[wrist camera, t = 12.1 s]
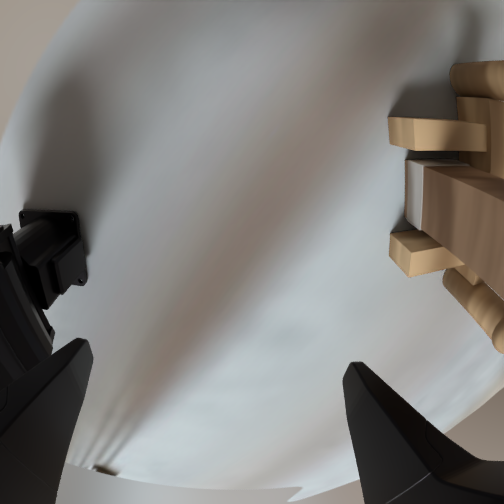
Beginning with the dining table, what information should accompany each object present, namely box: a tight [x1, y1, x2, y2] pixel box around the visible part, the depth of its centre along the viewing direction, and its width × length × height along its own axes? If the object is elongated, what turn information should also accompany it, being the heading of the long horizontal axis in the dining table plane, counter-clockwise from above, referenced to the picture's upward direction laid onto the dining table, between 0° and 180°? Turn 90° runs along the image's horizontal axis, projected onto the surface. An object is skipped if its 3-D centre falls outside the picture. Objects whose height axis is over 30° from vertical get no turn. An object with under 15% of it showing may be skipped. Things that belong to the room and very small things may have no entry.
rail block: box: [404, 159, 504, 300], centre depth 14 cm, size 5×5×13 cm
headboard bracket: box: [388, 60, 504, 354], centre depth 15 cm, size 10×21×11 cm, turn 8°
